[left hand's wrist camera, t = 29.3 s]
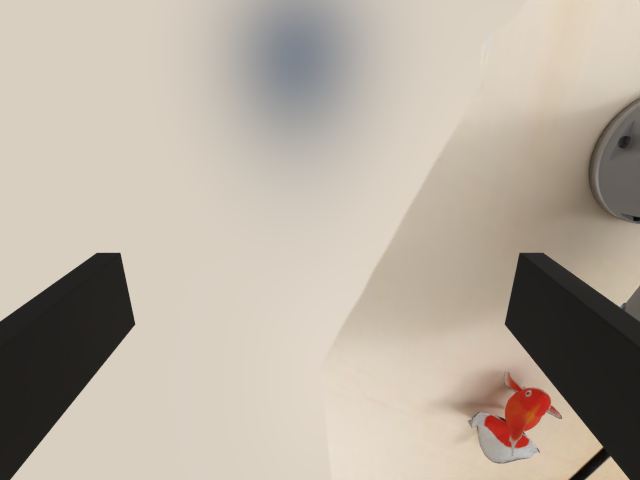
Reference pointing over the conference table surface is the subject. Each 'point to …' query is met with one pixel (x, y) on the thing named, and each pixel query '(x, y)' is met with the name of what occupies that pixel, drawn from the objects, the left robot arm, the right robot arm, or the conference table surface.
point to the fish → (513, 424)
